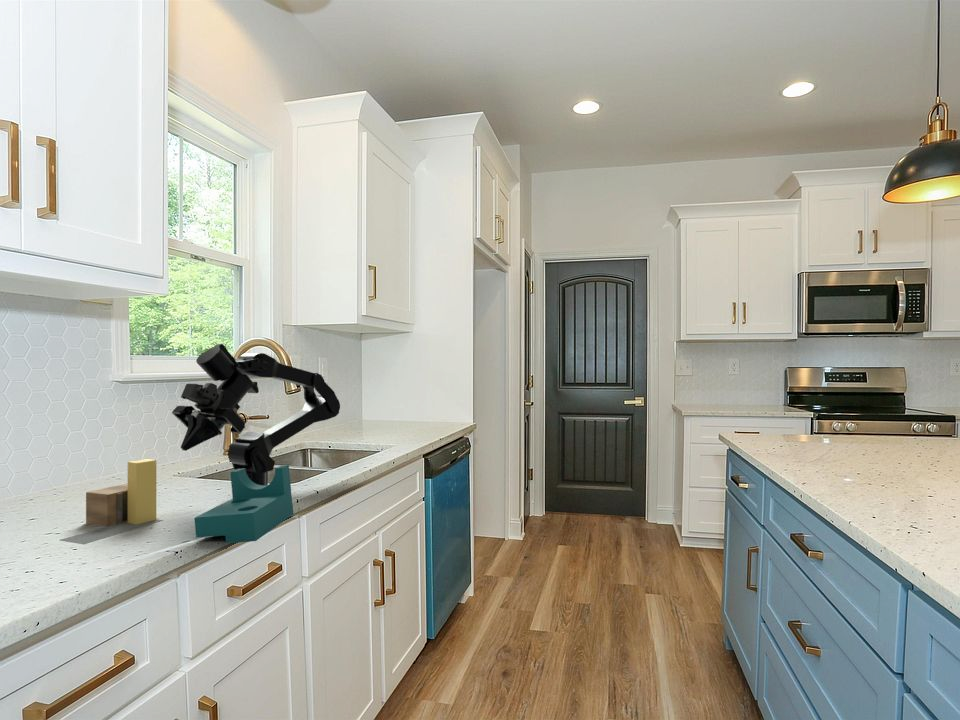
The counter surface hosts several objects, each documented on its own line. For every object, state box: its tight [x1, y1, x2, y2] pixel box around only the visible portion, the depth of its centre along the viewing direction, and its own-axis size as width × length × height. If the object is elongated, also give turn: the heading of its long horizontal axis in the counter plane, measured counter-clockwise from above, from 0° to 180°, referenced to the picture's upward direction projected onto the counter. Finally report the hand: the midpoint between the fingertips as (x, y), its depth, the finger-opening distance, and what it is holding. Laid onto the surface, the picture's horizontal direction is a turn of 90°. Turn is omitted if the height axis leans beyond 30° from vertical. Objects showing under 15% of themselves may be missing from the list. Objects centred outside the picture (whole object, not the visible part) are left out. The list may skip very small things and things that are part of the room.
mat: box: [60, 518, 164, 545], centre depth 109 cm, size 16×6×1 cm, turn 159°
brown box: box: [85, 482, 128, 527], centre depth 116 cm, size 10×7×6 cm, turn 159°
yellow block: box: [127, 458, 157, 525], centre depth 114 cm, size 4×3×12 cm
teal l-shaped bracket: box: [193, 464, 294, 544], centre depth 111 cm, size 18×11×10 cm, turn 177°
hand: (183, 449), depth 122 cm, fingers closed
